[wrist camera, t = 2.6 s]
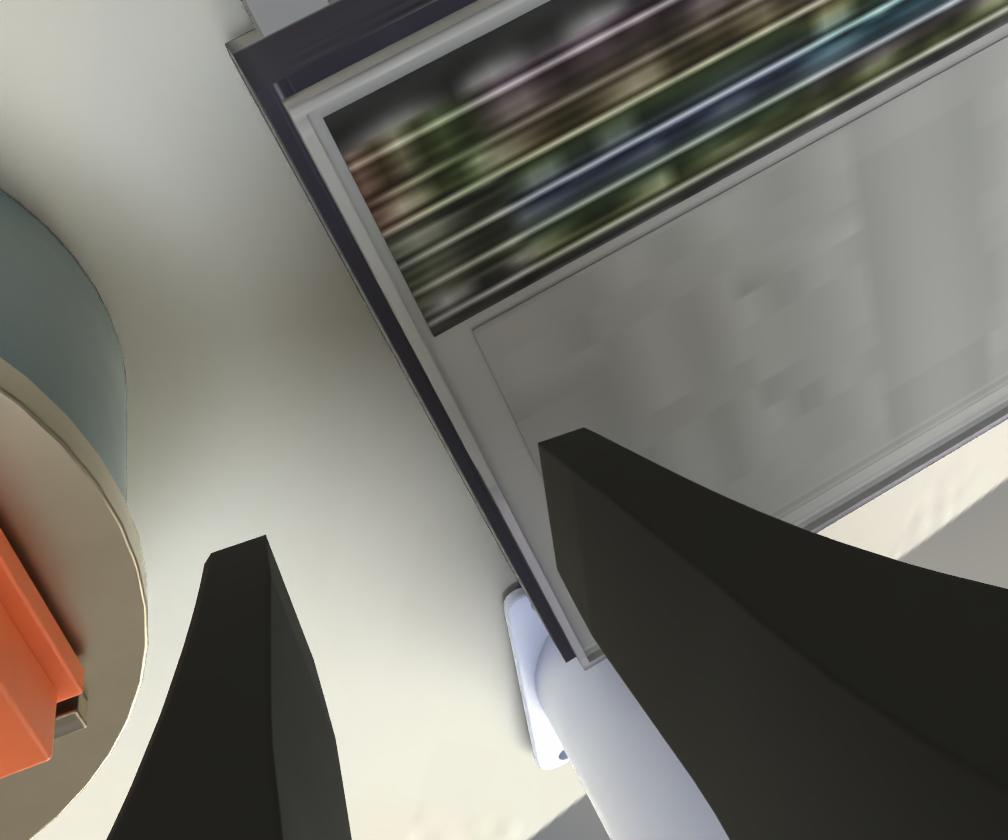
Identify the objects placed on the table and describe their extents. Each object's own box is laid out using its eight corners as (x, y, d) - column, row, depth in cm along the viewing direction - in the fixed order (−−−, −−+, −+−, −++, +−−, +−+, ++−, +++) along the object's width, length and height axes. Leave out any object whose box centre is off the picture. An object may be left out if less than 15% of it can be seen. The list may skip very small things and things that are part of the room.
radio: (597, 717, 21) (69, -254, 10) (518, 582, 26) (87, -204, 14) (1384, 243, 24) (1705, -1010, 12) (1190, 192, 28) (1289, -767, 16)
